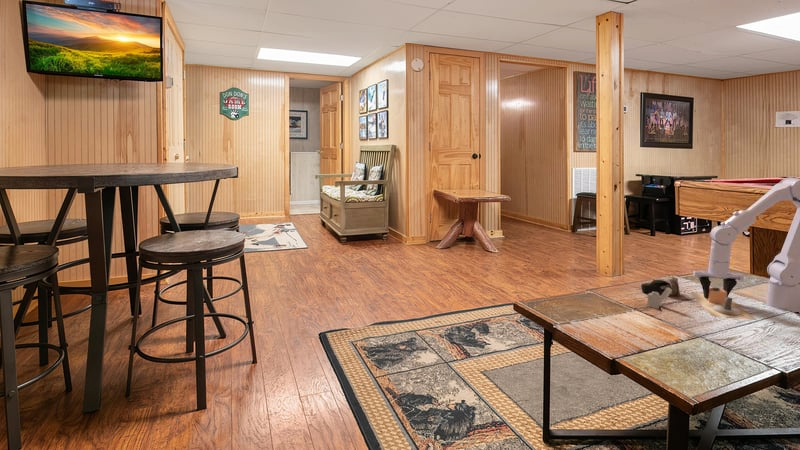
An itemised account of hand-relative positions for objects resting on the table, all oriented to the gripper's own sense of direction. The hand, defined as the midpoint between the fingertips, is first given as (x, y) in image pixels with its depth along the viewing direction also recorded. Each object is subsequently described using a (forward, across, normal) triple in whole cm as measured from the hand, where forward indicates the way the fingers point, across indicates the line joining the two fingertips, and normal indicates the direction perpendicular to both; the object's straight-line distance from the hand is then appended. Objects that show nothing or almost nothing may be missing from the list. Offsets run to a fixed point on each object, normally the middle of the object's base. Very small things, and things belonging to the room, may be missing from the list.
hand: (715, 298), depth 157 cm
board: (+2, 0, +5) cm, 5 cm away
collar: (+1, 0, 0) cm, 1 cm away
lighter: (+2, +20, +11) cm, 23 cm away
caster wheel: (+2, +16, -6) cm, 18 cm away
